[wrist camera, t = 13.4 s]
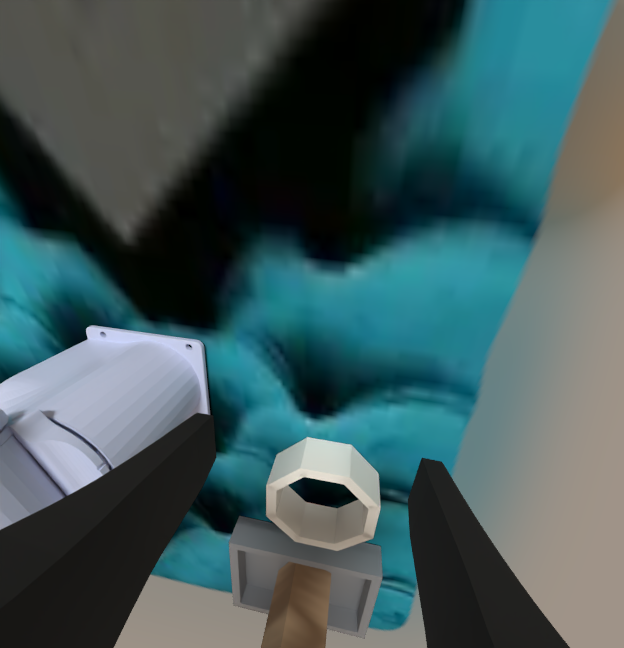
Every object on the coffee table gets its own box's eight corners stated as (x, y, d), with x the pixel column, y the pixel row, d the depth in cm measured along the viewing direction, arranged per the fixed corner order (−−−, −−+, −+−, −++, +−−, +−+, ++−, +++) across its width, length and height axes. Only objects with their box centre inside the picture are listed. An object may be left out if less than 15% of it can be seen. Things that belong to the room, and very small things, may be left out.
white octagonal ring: (275, 501, 27) (265, 535, 24) (277, 431, 24) (266, 461, 21) (367, 520, 26) (368, 557, 23) (383, 450, 23) (386, 484, 20)
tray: (242, 577, 33) (233, 605, 31) (239, 515, 29) (228, 542, 26) (364, 607, 31) (364, 638, 29) (380, 546, 27) (382, 577, 25)
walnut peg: (278, 570, 30) (247, 709, 22) (297, 554, 28) (271, 697, 20) (310, 588, 30) (291, 731, 22) (331, 573, 29) (319, 721, 20)
